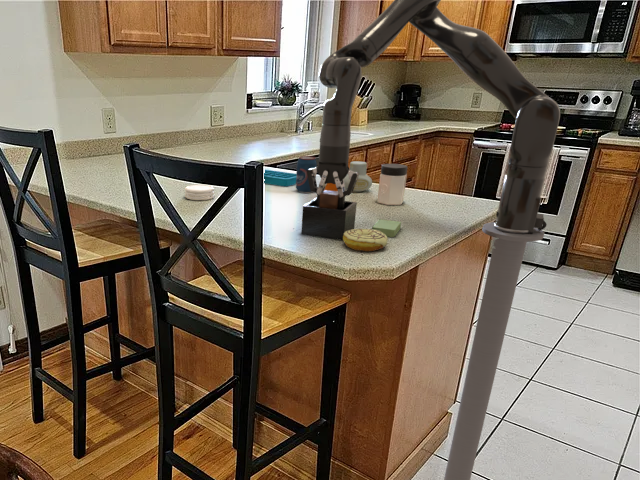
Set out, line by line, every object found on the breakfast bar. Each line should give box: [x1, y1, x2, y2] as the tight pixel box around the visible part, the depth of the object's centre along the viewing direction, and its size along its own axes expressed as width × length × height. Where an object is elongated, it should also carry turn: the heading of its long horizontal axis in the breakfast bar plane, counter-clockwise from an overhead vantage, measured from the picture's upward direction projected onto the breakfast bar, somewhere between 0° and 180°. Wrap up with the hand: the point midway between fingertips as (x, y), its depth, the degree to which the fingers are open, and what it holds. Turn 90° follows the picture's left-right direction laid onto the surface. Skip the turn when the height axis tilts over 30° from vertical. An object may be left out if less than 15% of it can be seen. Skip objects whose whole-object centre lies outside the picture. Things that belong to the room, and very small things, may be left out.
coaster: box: [184, 184, 215, 201], centre depth 179 cm, size 10×10×4 cm
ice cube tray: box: [263, 168, 297, 187], centre depth 205 cm, size 12×20×3 cm, turn 52°
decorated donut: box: [342, 228, 389, 252], centre depth 131 cm, size 10×11×4 cm
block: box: [319, 190, 339, 209], centre depth 139 cm, size 5×5×5 cm
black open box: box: [301, 197, 358, 241], centre depth 141 cm, size 12×11×8 cm
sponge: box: [371, 218, 402, 238], centre depth 143 cm, size 9×6×2 cm, turn 154°
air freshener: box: [343, 160, 373, 193], centre depth 189 cm, size 11×8×10 cm
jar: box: [377, 163, 408, 206], centre depth 172 cm, size 9×8×12 cm
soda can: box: [295, 155, 318, 194], centre depth 187 cm, size 7×7×12 cm
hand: (329, 209), depth 140 cm, fingers closed on block, 4 cm apart
